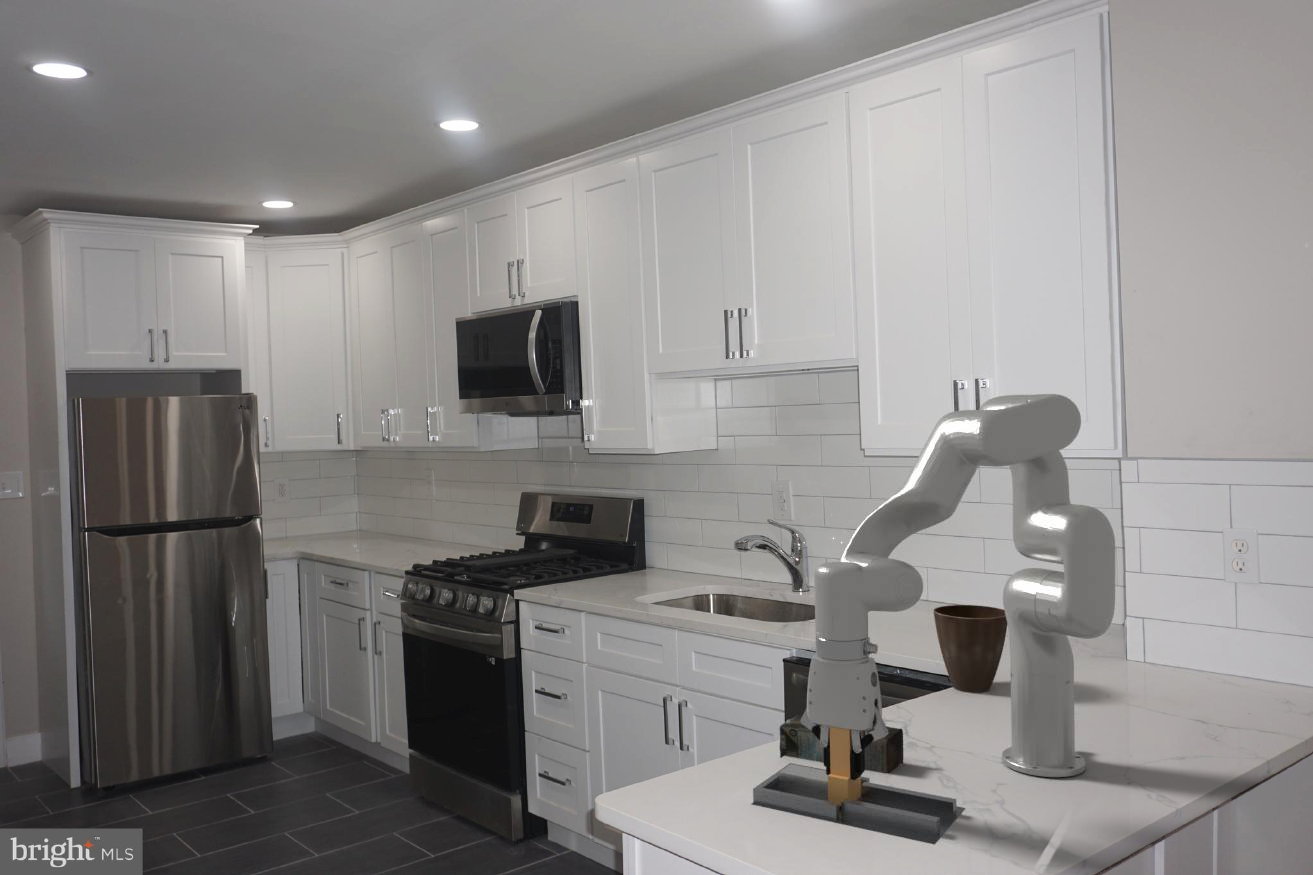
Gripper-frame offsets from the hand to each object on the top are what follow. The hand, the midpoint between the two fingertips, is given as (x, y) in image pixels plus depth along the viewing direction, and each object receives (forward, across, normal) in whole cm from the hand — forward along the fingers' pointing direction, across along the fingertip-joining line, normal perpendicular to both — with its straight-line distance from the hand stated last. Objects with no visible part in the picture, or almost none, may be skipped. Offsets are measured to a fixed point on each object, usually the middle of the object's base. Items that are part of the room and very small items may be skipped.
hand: (844, 773), depth 144 cm
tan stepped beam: (+4, 0, 0) cm, 4 cm away
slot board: (+5, -2, 0) cm, 6 cm away
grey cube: (+4, +4, 0) cm, 6 cm away
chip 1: (+4, +8, 0) cm, 9 cm away
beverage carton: (+6, +8, -18) cm, 21 cm away
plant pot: (+6, +2, -73) cm, 73 cm away
